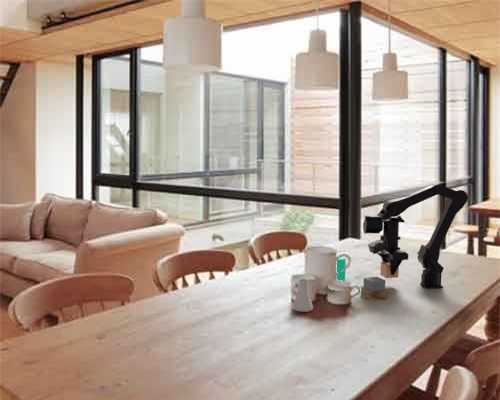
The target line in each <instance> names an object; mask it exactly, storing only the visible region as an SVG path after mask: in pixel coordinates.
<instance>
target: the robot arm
mask: <svg viewBox="0 0 500 400" xmlns="http://www.w3.org/2000/svg"><path fill="white" fill-rule="evenodd" d="M436 196H441V197H443V198H445V201H444V208H443V211H442V214H441V216H440V218H439V220H438V222H437V224H436V227H435V229H434V230H433V232H432V234H431V236H430V239H429V241H428V242H427V243H426V244H425V245H424V244H421V245H420V249H419V251H418V252H416V254H417V261H418V263H419V264H420V265H421V266H422V268H423V269H422V273H421V277H420V278H421V280H420V283H419V285H421V286H423V287H425V288H427V289H440V288H443V289H444V286H443V285H442V275H443V271H444V267H443V266H442V264H440V262H439V259H440V253H441V247H442V244H443V243H444V240H445V238H446V236H447V234H448V231H449V230H450V228H451V225H452V223H453V221H454V219H455V218H456V215H457V214H458V213H459V212H460V211H461V210H462V209H463V208H464V207H465V205H466V204H467V202H468V200H469V196H468V193H467V192H466V191H465V190H463V189H458V188H450V187H447V186H445V185H442V184H441V183H437V182H434V183H432V184H431V185H429V186H426V187H424V188H422V189H420V190H417V191H415V192H412V193H410V194H408V195H405V196H403V197H402V196H401V197H398V198H392V199H389V200H385V202H383V204H382V208H381V210H380V211H379V212H378V213H377V215H376V216H375V215H364V220H363V223H362V229H363V233H364V234H380V233H382V235H380V238H379V239H378V240H374V241H372V242H370V243H368V244H367V247H368V249H369V250H368V251H369V252H370V253H372V254H373V255H375V254H376V255H378V256H379V257H380V259H381V262H390V271H391V275H394V274H395V272H396V271H397V269H398V267H400V265H401V264H402V262H403V261H408V260H409V253H407V251H404V250H401V247H400V246H399V240H401V236H399V234H400V233H399V229H400V223H405V220H404V219H403V218H402V216H401V214H402V213H404V212H405V211H406V210H408V209H409V208H410V207H412V206H414V205H418V204H420V203H422V202H424V201H426V200H428V199H431V198H433V197H436Z"/></svg>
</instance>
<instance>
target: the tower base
mask: <svg viewBox="0 0 500 400" xmlns="http://www.w3.org/2000/svg"><path fill="white" fill-rule="evenodd" d="M360 289H361V290H360V295H361V296H362V297H363V298H365V300H367V301H379V300H380V301H381V300H383V301H384V300H388V290H387V289H386V288H385V290H380V291H370V290H368V289H366V288H364V287H363V285H361V286H360Z"/></svg>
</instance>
